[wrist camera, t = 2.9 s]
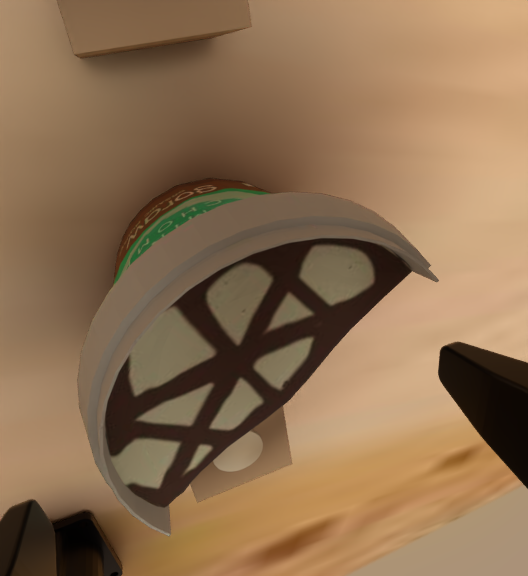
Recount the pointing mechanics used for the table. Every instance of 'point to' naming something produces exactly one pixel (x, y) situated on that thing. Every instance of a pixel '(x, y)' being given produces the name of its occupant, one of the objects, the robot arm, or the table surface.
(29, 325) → the table surface
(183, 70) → the table surface
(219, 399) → the food container
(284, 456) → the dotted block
